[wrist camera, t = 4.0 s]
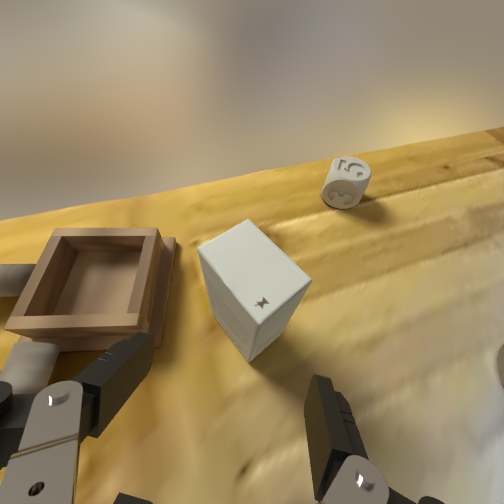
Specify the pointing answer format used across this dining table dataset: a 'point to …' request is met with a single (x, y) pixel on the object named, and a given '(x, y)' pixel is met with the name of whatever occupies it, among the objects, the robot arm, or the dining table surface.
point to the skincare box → (251, 286)
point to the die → (345, 182)
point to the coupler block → (84, 297)
